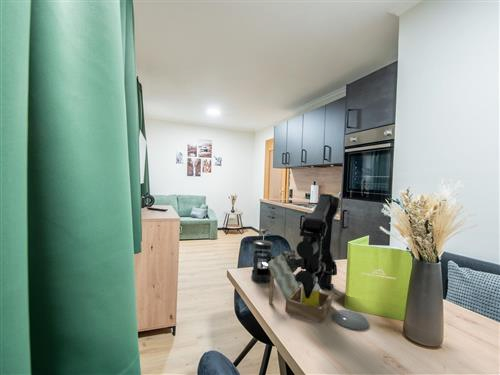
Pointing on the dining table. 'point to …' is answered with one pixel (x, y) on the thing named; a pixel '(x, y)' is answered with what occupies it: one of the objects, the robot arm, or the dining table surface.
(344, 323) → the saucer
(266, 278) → the french press
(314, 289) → the pill bottle
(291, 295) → the cold frame
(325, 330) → the dining table surface
